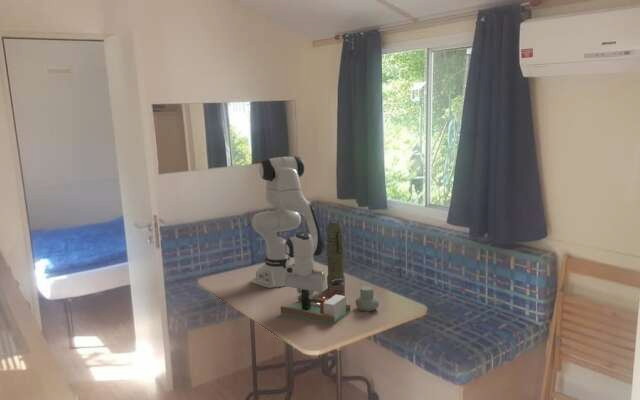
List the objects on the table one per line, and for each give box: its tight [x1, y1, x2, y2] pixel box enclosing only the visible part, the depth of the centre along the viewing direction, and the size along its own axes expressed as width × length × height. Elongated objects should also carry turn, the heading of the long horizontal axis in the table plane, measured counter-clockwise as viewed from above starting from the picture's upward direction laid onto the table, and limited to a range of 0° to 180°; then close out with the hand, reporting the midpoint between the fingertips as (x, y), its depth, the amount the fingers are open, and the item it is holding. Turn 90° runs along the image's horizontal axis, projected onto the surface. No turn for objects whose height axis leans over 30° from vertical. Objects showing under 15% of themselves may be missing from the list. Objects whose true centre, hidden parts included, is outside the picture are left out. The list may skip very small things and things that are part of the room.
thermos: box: [325, 220, 346, 292], centre depth 257 cm, size 9×12×35 cm
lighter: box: [328, 279, 346, 300], centre depth 246 cm, size 8×3×10 cm, turn 105°
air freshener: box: [355, 285, 380, 312], centre depth 233 cm, size 11×8×10 cm
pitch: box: [280, 295, 351, 326], centre depth 230 cm, size 27×16×8 cm, turn 60°
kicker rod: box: [301, 289, 327, 314], centre depth 230 cm, size 12×5×9 cm, turn 60°
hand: (305, 298), depth 232 cm, fingers closed on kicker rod, 3 cm apart
